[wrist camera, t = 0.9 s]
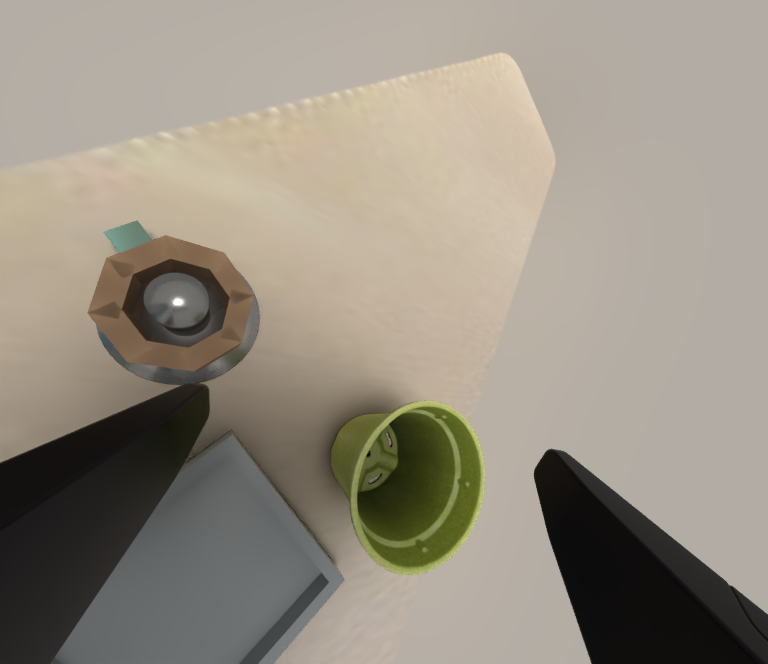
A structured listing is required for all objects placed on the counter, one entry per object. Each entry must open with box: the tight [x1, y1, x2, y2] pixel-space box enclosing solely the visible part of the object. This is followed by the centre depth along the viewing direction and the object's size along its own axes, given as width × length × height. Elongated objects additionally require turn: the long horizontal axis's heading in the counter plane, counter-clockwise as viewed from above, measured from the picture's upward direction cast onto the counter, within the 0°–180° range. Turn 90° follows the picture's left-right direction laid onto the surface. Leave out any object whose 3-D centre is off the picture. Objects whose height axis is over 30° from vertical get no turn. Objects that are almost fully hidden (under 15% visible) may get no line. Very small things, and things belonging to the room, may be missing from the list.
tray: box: [51, 430, 344, 664], centre depth 18 cm, size 13×13×2 cm
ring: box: [88, 220, 253, 372], centre depth 18 cm, size 7×9×4 cm
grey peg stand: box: [96, 271, 259, 384], centre depth 18 cm, size 9×9×5 cm
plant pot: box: [331, 401, 485, 575], centre depth 22 cm, size 9×9×9 cm
